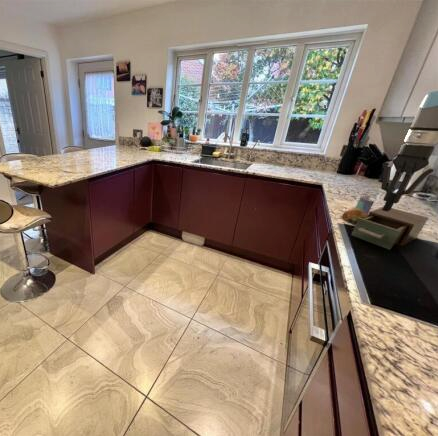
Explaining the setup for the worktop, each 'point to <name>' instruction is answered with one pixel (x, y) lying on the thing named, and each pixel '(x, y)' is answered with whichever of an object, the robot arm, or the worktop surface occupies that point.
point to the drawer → (380, 231)
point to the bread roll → (354, 215)
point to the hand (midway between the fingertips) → (386, 210)
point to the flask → (364, 203)
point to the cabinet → (403, 222)
